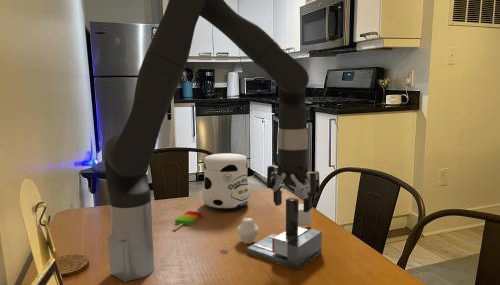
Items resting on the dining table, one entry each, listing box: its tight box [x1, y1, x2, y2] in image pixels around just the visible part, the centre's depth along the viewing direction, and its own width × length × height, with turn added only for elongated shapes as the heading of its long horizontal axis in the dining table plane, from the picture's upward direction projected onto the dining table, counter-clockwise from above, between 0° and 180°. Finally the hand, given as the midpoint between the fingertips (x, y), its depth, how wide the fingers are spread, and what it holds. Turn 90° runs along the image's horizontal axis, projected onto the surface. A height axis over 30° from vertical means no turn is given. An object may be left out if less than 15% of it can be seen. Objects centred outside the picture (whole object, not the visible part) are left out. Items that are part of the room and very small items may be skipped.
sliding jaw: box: [272, 197, 309, 257], centre depth 98 cm, size 10×5×13 cm, turn 142°
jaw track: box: [246, 228, 323, 271], centre depth 100 cm, size 12×16×6 cm
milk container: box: [201, 152, 251, 211], centre depth 138 cm, size 17×17×18 cm
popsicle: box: [172, 210, 202, 231], centre depth 123 cm, size 6×15×2 cm, turn 162°
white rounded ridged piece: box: [236, 217, 260, 244], centre depth 108 cm, size 6×6×7 cm
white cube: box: [298, 203, 312, 227], centre depth 120 cm, size 6×6×6 cm
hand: (292, 208), depth 98 cm, fingers open, 8 cm apart
